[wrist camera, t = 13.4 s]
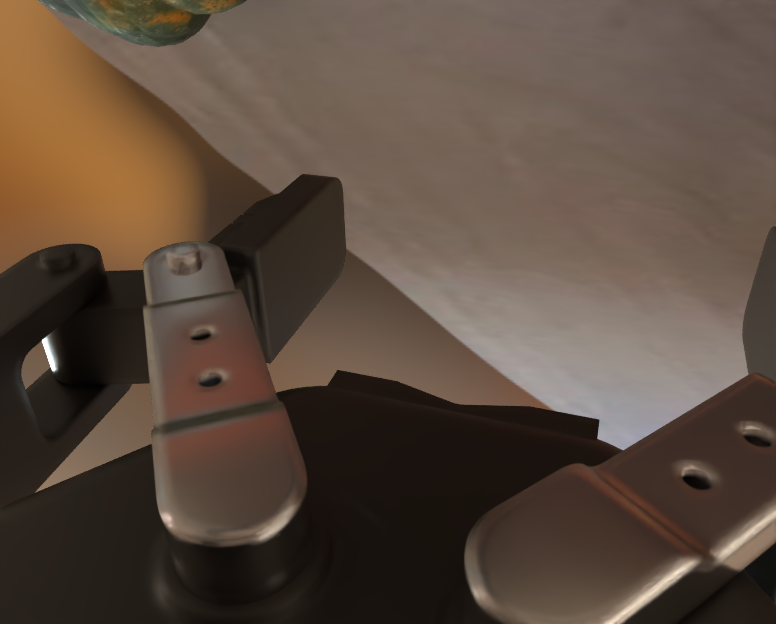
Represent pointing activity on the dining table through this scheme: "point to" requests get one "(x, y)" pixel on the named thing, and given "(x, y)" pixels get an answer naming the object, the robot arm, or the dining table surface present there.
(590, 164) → the dining table surface
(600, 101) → the dining table surface
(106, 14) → the squash
